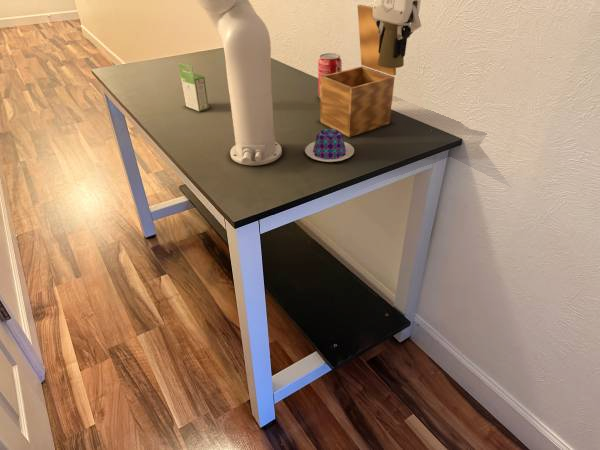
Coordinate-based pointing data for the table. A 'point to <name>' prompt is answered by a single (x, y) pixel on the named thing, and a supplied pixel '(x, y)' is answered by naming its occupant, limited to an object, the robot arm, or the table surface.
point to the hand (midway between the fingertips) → (391, 54)
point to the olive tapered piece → (389, 48)
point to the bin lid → (370, 40)
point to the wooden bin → (356, 100)
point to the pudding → (329, 146)
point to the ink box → (194, 89)
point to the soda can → (328, 66)
